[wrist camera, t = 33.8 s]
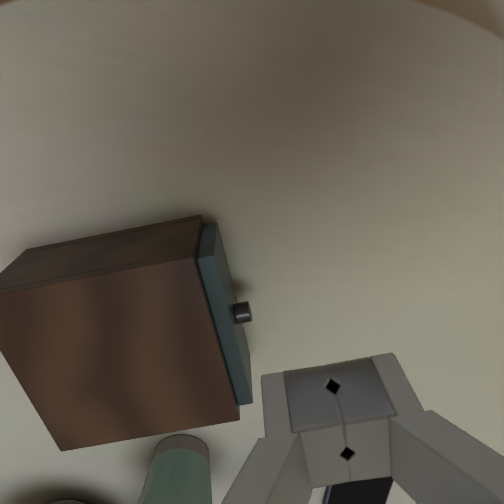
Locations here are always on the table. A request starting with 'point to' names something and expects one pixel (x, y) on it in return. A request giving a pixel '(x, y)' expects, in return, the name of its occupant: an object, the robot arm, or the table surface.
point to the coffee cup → (178, 473)
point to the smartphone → (360, 491)
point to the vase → (68, 502)
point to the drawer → (226, 311)
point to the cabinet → (116, 336)
